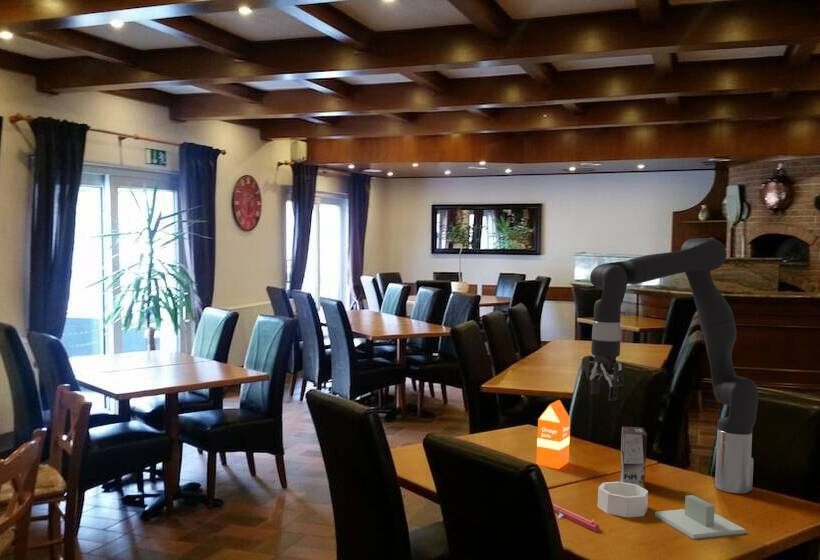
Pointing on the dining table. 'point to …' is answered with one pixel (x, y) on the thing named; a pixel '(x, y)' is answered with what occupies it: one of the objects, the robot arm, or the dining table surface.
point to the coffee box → (633, 455)
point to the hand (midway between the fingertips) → (603, 397)
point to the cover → (699, 520)
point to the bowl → (622, 499)
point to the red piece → (576, 518)
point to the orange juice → (553, 436)
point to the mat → (698, 538)
